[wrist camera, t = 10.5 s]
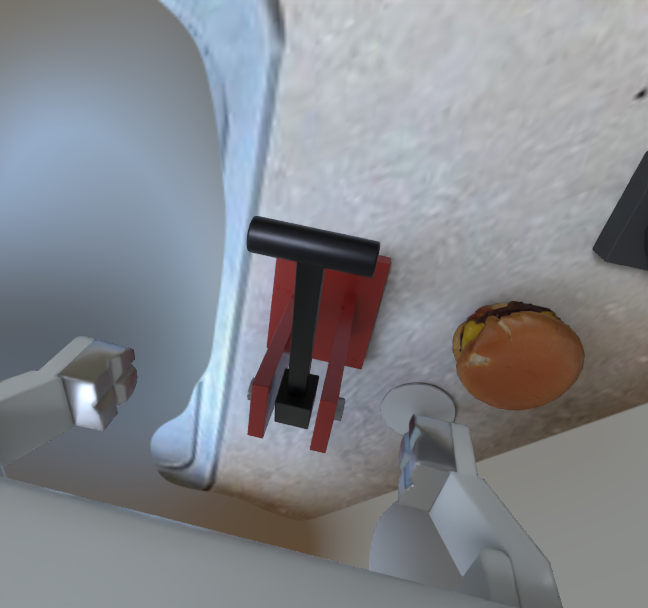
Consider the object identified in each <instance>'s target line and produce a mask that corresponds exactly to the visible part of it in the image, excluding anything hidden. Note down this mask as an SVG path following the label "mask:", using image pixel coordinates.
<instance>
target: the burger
mask: <svg viewBox="0 0 648 608" xmlns="http://www.w3.org/2000/svg"><path fill="white" fill-rule="evenodd" d="M560 319H561V318H558V317H557V316H556V315H555V313H554V312H553V311H551V310H550V309H548V308H544V307H540V306H534V305H532V304H523V303H522V302H517V301H511V302H510V303H509V304H507V303H497V304H494V305H492V306H491V305H486V306H484V307H481V308H479V309H478V310H477V311H476V312H475V314H473V315H471V316H470V317H469V318H468V319H467V321H466V323H463V324H461V325H460V326H459V327H458V328H457V330H456V332H455V334H454V337H453V353H454V356H455V359H456V361H457V364H456V368H457V374H458V376H459V378H460V380H461V382H462V384H463V385H464V387H465V388H466V389H467V390H468V391H469V393H470V394H471V395H473V396H474V397H475V398H476V399H478V400H480V401H483V402H485V403H487V404H488V405H490V406H493V407H496V408H500V409H506V410H526V409H531V408H536V407H539V406H542V405H544V404H547V403H549V402H551V401H553V400H555V399H557V398H558V397H559V396H561V395H562V394H564V393H565V392H566V391H567V390H568V389H569V388H570V387H571V386H572V385H573V383H574V382H575V381H576V380H577V378H578V376H579V374H580V372H581V370H582V368H583V363H584V357H585V355H584V350H583V346H582V344H581V341H580V339H579V337H578V336H577V335H576V334H575V332H574V331H573V330H572V329H571V328H570V327H569V325H566V324H564V322H562V321H561V320H560Z"/></svg>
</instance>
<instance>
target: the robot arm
mask: <svg viewBox="0 0 648 608" xmlns="http://www.w3.org/2000/svg"><path fill="white" fill-rule="evenodd" d="M134 360H135V355H134V350H133V349H131V348H129V347H125V346H120V345H117V344H113V343H109V342H105V341H102V340H97V339H92V338H89V337H85V336H79V337H76V338H75V339H74V340H73V341H71V342H70V343H69V344H68V345H67V346H66V347H65V348H64V349H62V350H61V351H60V352H59V353H58V354H57V355H56V356H55V357H53V358H52V359H51V360H50V361H49V362H48V363H47V364H46V365H45V366H43V367H42V368H41V369H40V370H39V371H38V372H37V371H30V372H27V373H24V374H21V375H18V376H15V377H13V378H10V379H7V380H4V381H1V382H0V608H563V607H562V603H561V600H560V596H559V593H558V589H557V586H556V582H555V579H554V575H553V571H552V568H551V564H550V562H549V560H548V559H547V558H546V557H545V555H544V554H543V553H542V551H541V550H540V549H539V548H538V546H537V545H536V544H535V543H534V542H533V540H532V539H531V538H530V536H529V535H528V534H527V533H526V531H525V530H524V529H523V528H522V526H521V525H520V524H519V523H518V522H517V520H516V519H515V518H514V516H513V515H512V514H511V512H510V511H509V510H508V509H507V507H506V506H505V505H504V504H503V502H502V501H501V500H500V499H499V497H498V496H497V495H496V494H495V492H494V491H493V490H492V489H491V487H490V486H489V485H488V484H487V482H486V481H485V480H484V479H482V478H479V477H478V473H477V467H476V462H475V456H474V451H473V445H472V439H471V434H470V429H469V428H468V426H465V425H461V424H456V423H452V422H447V421H443V420H438V419H434V418H430V417H425V416H421V415H416V414H413V415H412V417H411V419H410V421H409V431H408V432H407V433H405V434H404V436H403V439H402V442H401V446H400V451H399V466H398V467H399V469H400V470H401V472H402V474H401V476H400V478H399V481H398V504H402V505H405V506H409V507H412V508H416V509H420V510H423V511H427V512H429V515H430V517H431V519H432V521H433V523H434V524H435V526H436V528H437V530H438V532H439V534H440V536H441V538H442V540H443V542H444V544H445V545H446V547H447V549H448V551H449V553H450V555H451V557H452V559H453V561H454V563H455V565H456V566H457V568H458V570H459V572H460V574H461V576H462V578H461V580H460V581H459V582H458V584H457V585H456V586H455V588H454V589H453V590H452V591H449V590H445V589H441V588H438V587H434V586H430V585H426V584H422V583H418V582H414V581H410V580H406V579H402V578H398V577H394V576H390V575H387V574H383V573H379V572H375V571H371V570H367V569H363V568H359V567H355V566H351V565H347V564H343V563H339V562H335V561H332V560H327V559H324V558H320V557H316V556H312V555H308V554H304V553H300V552H296V551H292V550H288V549H284V548H280V547H276V546H272V545H268V544H265V543H261V542H256V541H253V540H249V539H245V538H241V537H237V536H233V535H229V534H225V533H222V532H218V531H213V530H210V529H206V528H202V527H198V526H194V525H190V524H186V523H182V522H178V521H174V520H170V519H166V518H163V517H159V516H155V515H151V514H147V513H143V512H139V511H135V510H131V509H127V508H123V507H119V506H115V505H111V504H107V503H104V502H100V501H95V500H91V499H88V498H84V497H80V496H76V495H72V494H68V493H65V492H61V491H57V490H53V489H49V488H44V487H41V486H37V485H33V484H29V483H25V482H21V481H17V480H14V479H9V478H7V476H6V474H5V471H4V469H3V467H5V466H6V465H8V464H10V463H12V462H13V461H15V460H16V459H19V458H20V457H22V456H24V455H25V454H27V453H29V452H31V451H32V450H34V449H36V448H37V447H39V446H41V445H43V444H44V443H46V442H48V441H50V440H51V439H53V438H55V437H57V436H58V435H60V434H62V433H64V432H65V431H67V430H69V429H71V428H72V427H74V425H77V426H82V427H87V428H91V429H96V430H101V431H104V430H105V429H106V427H107V426H108V425H109V424H110V422H111V421H112V420H113V418H114V417H115V416H116V414H117V413H118V412H117V406H118V405H120V404H122V403H124V402H127V400H128V399H129V398H130V396H131V395H132V393H133V391H134V389H135V386H136V383H137V370H136V369H135V368H134V366H133V365H132V364H131V363H132V362H133V361H134Z"/></svg>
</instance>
